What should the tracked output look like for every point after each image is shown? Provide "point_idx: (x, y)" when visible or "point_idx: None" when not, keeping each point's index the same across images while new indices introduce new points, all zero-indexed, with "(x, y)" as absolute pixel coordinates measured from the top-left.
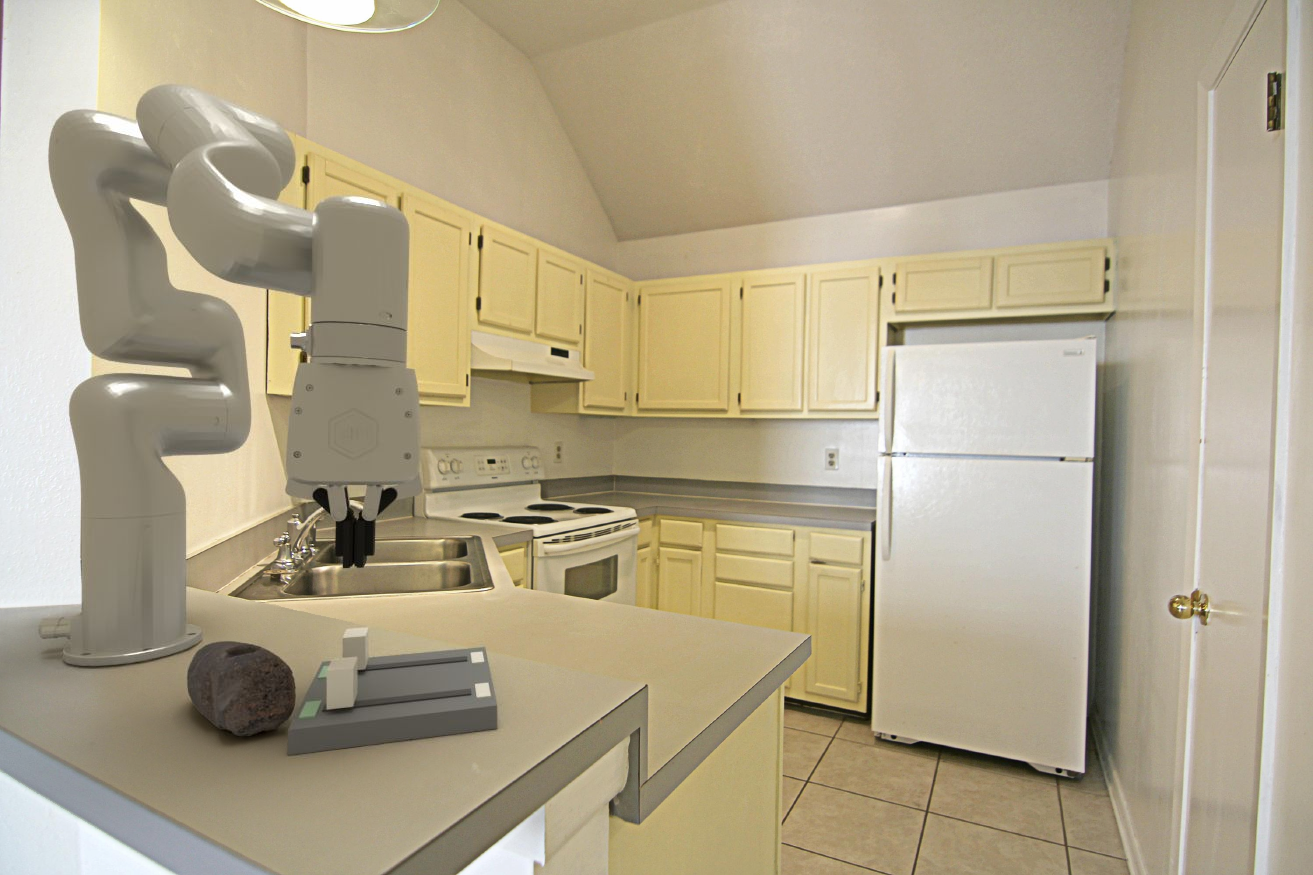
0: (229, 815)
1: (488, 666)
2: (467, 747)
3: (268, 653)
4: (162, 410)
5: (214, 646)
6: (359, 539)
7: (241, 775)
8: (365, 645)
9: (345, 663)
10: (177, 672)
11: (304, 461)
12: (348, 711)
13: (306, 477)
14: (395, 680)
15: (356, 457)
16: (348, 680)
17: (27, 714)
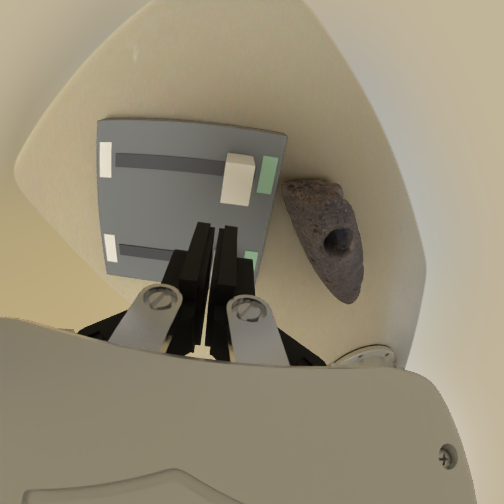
0: (322, 56)
1: (100, 222)
2: (135, 89)
3: (316, 219)
4: None
5: (355, 275)
6: (197, 250)
7: (317, 115)
8: (212, 265)
9: (234, 182)
10: (346, 329)
11: (421, 438)
12: None
13: (392, 380)
14: (185, 220)
15: (158, 482)
16: (231, 159)
17: (418, 289)
